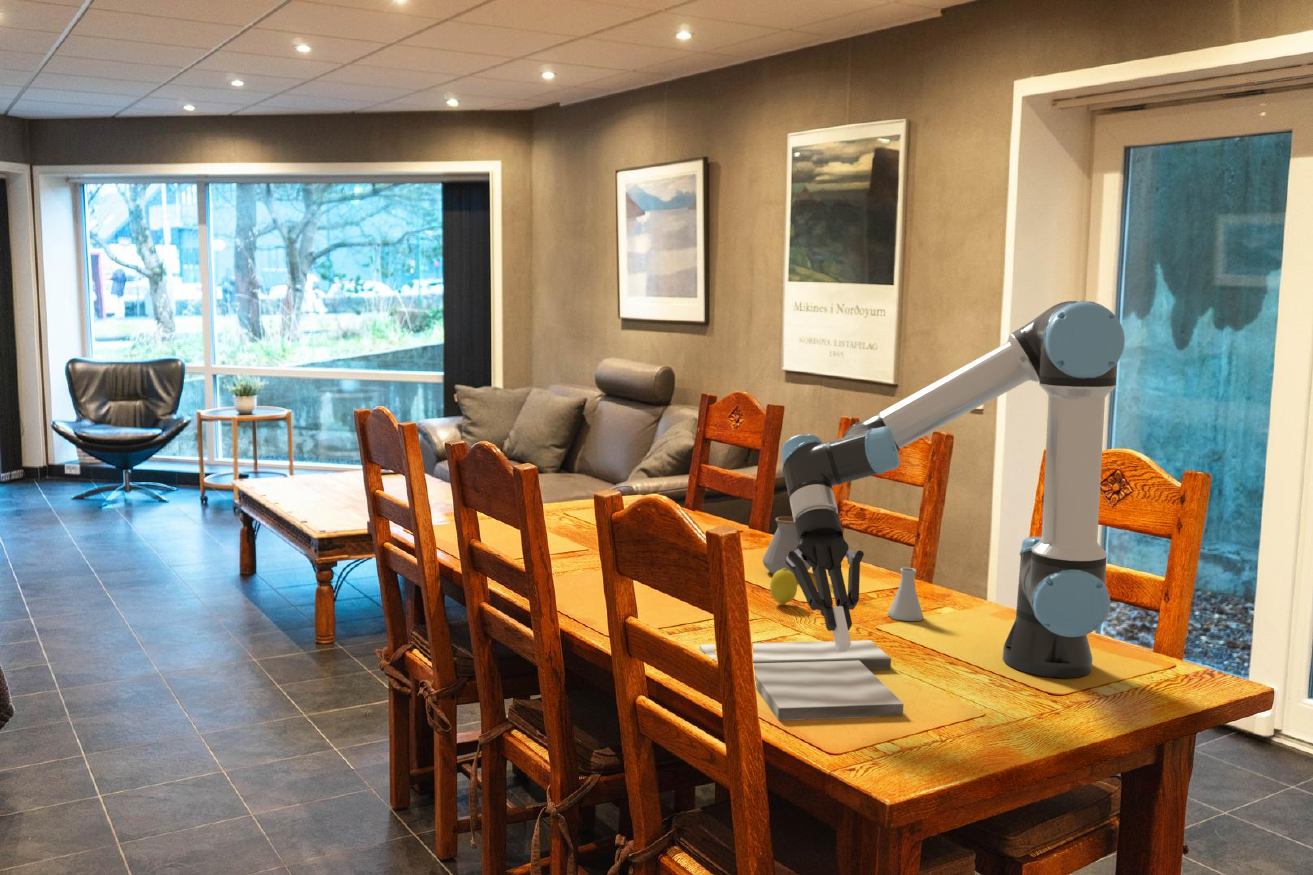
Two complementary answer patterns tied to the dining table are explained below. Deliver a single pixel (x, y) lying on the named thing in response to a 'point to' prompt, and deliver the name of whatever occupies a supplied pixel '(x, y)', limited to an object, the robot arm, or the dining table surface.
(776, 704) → the panel
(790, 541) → the coffee pot
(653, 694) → the dining table surface
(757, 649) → the board
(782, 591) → the lemon
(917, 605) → the flask
